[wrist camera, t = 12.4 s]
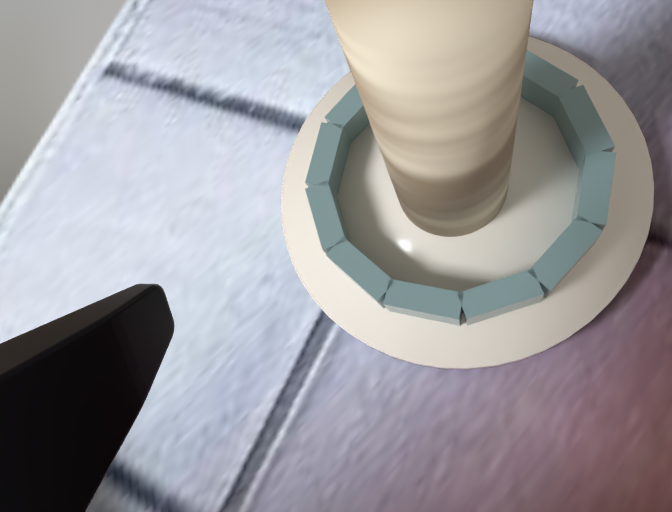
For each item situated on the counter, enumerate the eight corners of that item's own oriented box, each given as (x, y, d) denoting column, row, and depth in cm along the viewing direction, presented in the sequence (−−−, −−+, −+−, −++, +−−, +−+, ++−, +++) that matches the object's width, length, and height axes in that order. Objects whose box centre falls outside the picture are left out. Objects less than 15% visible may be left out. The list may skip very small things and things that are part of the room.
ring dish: (720, 300, 20) (752, 284, 18) (337, 416, 22) (320, 416, 20) (555, -5, 25) (564, -49, 23) (257, 114, 27) (236, 86, 25)
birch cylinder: (525, 214, 21) (577, -3, 10) (416, 251, 22) (353, 86, 11) (485, 121, 23) (492, -159, 12) (384, 158, 24) (299, -72, 12)
